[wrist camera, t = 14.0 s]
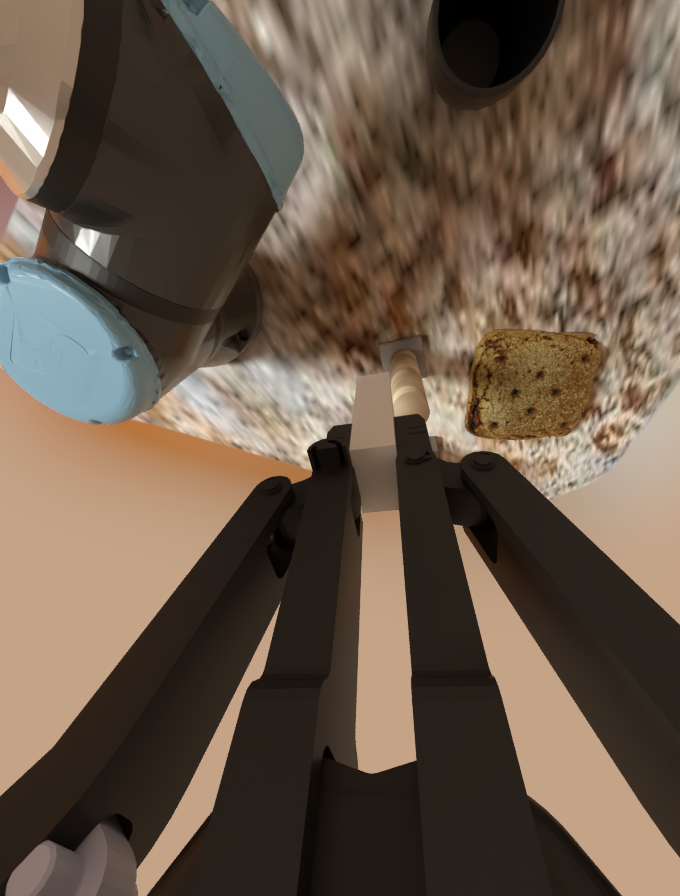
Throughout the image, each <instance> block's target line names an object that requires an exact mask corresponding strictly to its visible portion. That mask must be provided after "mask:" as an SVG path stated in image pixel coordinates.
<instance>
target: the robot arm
mask: <svg viewBox="0 0 680 896" xmlns="http://www.w3.org/2000/svg"><path fill="white" fill-rule="evenodd" d="M303 154H304V144H303V135H302V132H301V128H300V125H299V123H298V120H297V118H296V116H295V114H294V112H293V111H292V109H291V107H290V105H289V104H288V102H287V101H286V99H285V98H284V96H283V94H282V93H281V91H280V90H279V88H278V87H277V85H276V84H275V82H274V81H273V80H272V78H271V77H270V75H269V74H268V72H267V71H266V70H265V68H264V67H263V65H262V64H261V63H260V61H259V60H258V59H257V57H256V56H255V55H254V53H253V52H252V50H251V49H250V48H249V46H248V45H247V44H246V42H245V41H244V40H243V38H242V37H241V36H240V35H239V33H238V32H237V31H236V29H235V28H234V27H233V25H232V24H231V23H230V22H229V20H228V19H227V18H226V17H225V16H224V14H223V13H222V12H221V11H220V9H219V8H218V7H217V6H216V4H215V3H213V2H212V1H211V0H0V175H1V177H2V178H3V180H4V181H5V182H6V184H7V185H8V186H9V188H10V189H11V190H12V192H13V193H14V194H16V195H17V196H19V197H21V198H23V199H25V200H28V201H30V202H32V203H35V204H37V205H39V206H42V207H44V208H46V212H45V215H44V219H43V223H42V227H41V230H40V234H39V238H38V242H37V246H36V250H35V253H34V255H33V256H32V257H31V258H23V257H16V258H10V259H8V260H7V261H5V262H2V263H1V264H0V363H1V364H2V366H3V368H4V369H5V371H6V372H7V374H8V375H9V376H10V377H11V378H12V379H13V380H14V381H15V382H16V383H17V384H18V385H19V386H20V387H21V388H22V389H24V390H25V391H26V392H27V393H28V394H30V395H31V396H33V398H35V399H36V400H38V401H39V402H41V403H42V404H44V405H45V406H47V407H48V408H50V409H52V410H54V411H56V412H58V413H60V414H62V415H64V416H67V417H69V418H71V419H74V420H77V421H81V422H85V423H90V424H110V425H113V424H119V423H122V422H125V421H128V420H130V419H132V418H134V417H135V416H137V415H138V414H140V413H142V412H145V411H147V410H150V409H152V407H153V406H154V405H156V404H157V403H158V401H159V399H160V398H162V397H163V396H164V395H165V394H167V393H168V392H169V391H170V390H172V389H173V388H174V387H175V386H177V385H178V384H179V383H180V382H182V381H183V380H184V379H185V378H187V377H188V376H189V375H190V374H192V373H193V372H194V371H195V370H197V369H198V368H202V367H215V366H219V365H223V364H226V363H228V362H230V361H232V360H234V359H235V358H237V357H238V356H239V355H241V354H242V353H243V352H244V351H245V350H246V349H247V348H248V347H249V346H250V345H251V343H252V342H253V341H254V339H255V337H256V335H257V333H258V331H259V328H260V324H261V319H262V298H261V292H260V288H259V285H258V282H257V279H256V277H255V275H254V273H253V271H252V269H251V267H250V265H249V264H248V261H249V259H250V257H251V255H252V253H253V252H254V250H255V248H256V246H257V245H258V243H259V241H260V239H261V237H262V236H263V234H264V232H265V230H266V229H267V227H268V225H269V223H270V221H271V220H272V218H273V216H274V214H275V213H278V214H279V213H280V211H281V210H282V207H283V199H284V197H285V195H286V193H287V191H288V189H289V187H290V185H291V183H292V181H293V179H294V177H295V175H296V173H297V171H298V169H299V167H300V165H301V162H302V159H303ZM307 453H308V456H309V459H310V463H311V466H312V470H313V472H312V476H311V477H310V478H308V479H306V480H303V481H300V482H297V483H294V484H291V481H290V479H288V478H287V477H284V476H276V477H271V478H268V479H266V480H264V481H262V482H260V483H259V484H258V485H257V486H256V487H255V488H254V490H253V491H252V492H251V494H250V495H249V496H248V497H247V499H246V500H245V501H244V503H243V504H242V505H241V506H240V508H239V509H238V510H237V512H236V513H235V514H234V516H233V517H232V518H231V520H230V521H229V522H228V523H227V524H226V526H225V527H224V528H223V530H222V531H221V532H220V533H219V535H218V536H217V538H216V539H215V540H214V541H213V542H212V544H211V545H210V546H209V548H208V549H207V550H206V551H205V553H204V554H203V555H202V557H201V558H200V559H199V560H198V562H197V563H196V564H195V566H194V567H193V568H192V569H191V571H190V572H189V573H188V575H187V576H186V577H185V578H184V580H183V581H182V582H181V584H180V585H179V586H178V587H177V589H176V590H175V591H174V593H173V594H172V595H171V596H170V598H169V599H168V600H167V602H166V603H165V604H164V605H163V607H162V608H161V609H160V611H159V612H158V613H157V615H156V616H155V617H154V618H153V620H152V621H151V622H150V623H149V625H148V626H147V627H146V629H145V630H144V631H143V632H142V634H141V635H140V636H139V638H138V639H137V640H136V641H135V643H134V644H133V645H132V647H131V648H130V649H129V650H128V652H127V653H126V654H125V656H124V657H123V658H122V659H121V661H120V662H119V663H118V665H117V666H116V667H115V669H114V670H113V671H112V672H111V674H110V675H109V676H108V677H107V679H106V680H105V681H104V683H103V684H102V685H101V686H100V688H99V689H98V690H97V692H96V693H95V694H94V695H93V697H92V698H91V699H90V701H89V702H88V703H87V705H86V706H85V707H84V708H83V710H82V711H81V712H80V713H79V715H78V716H77V717H76V719H75V720H74V721H73V722H72V724H71V725H70V726H69V728H68V729H67V730H66V732H65V733H64V734H63V735H62V737H61V738H60V739H59V740H58V742H57V743H56V744H55V746H54V747H53V748H52V749H51V750H50V751H49V752H47V753H46V754H45V755H44V756H43V757H42V758H41V759H40V760H39V761H38V762H37V763H36V764H35V765H33V767H31V768H30V769H29V770H28V771H27V772H26V773H25V774H24V775H23V776H22V777H21V778H19V779H18V780H17V781H16V782H15V783H14V784H13V785H12V786H11V787H10V788H9V789H8V790H7V791H5V792H4V793H3V794H2V795H1V796H0V896H138V890H137V885H136V884H135V882H136V870H137V868H138V867H139V865H140V864H141V863H142V861H143V860H144V858H145V857H146V856H147V854H148V853H149V852H150V850H151V849H152V847H153V846H154V844H155V842H156V841H157V839H158V838H159V836H160V834H161V833H162V831H163V830H164V828H165V827H166V825H167V824H168V822H169V820H170V819H171V817H172V815H173V813H174V811H175V809H176V808H177V806H178V804H179V802H180V800H181V799H182V797H183V795H184V793H185V791H186V789H187V788H188V785H189V784H190V782H191V780H192V778H193V776H194V774H195V772H196V769H197V768H198V766H199V763H200V762H201V760H202V758H203V755H204V754H205V752H206V750H207V748H208V746H209V744H210V742H211V739H212V738H213V736H214V734H215V732H216V729H217V727H218V726H219V723H220V722H221V719H222V718H223V715H224V714H225V712H226V710H227V708H228V705H229V703H230V701H231V699H232V698H233V695H234V694H235V692H236V690H237V688H238V685H239V684H240V682H241V680H242V677H243V675H244V673H245V672H246V669H247V667H248V666H249V663H250V662H251V659H252V657H253V655H254V653H255V651H256V649H257V647H258V645H259V643H260V641H261V639H262V637H263V635H264V633H265V631H266V629H267V627H268V625H269V623H270V621H271V619H272V617H273V615H274V613H275V611H276V609H277V607H278V605H279V603H280V601H281V603H280V607H279V612H278V616H277V620H276V624H275V628H274V632H273V636H272V640H271V645H270V649H269V653H268V657H267V661H266V665H265V669H264V672H263V674H262V676H261V678H260V679H258V680H255V681H253V682H252V683H251V684H250V686H249V687H248V689H247V691H246V694H245V696H244V699H243V702H242V706H241V709H240V713H239V717H238V720H237V724H236V727H235V732H234V735H233V739H232V742H231V746H230V750H229V753H228V757H227V761H226V765H225V768H224V772H223V775H222V779H221V783H220V786H219V790H218V794H217V798H216V801H215V805H214V808H213V811H212V813H211V814H210V816H208V818H207V819H206V820H205V822H204V823H203V824H202V825H201V827H200V828H199V829H198V831H197V832H196V833H195V834H194V836H193V837H192V838H191V839H190V841H189V842H188V843H187V845H186V846H185V847H184V849H183V850H182V851H181V852H180V854H179V855H178V856H177V857H176V859H175V860H174V861H173V863H172V864H171V865H170V866H169V868H168V869H167V870H166V872H165V873H164V875H162V877H161V878H160V879H159V881H158V882H157V883H156V884H155V886H154V887H153V888H152V890H151V891H150V892H149V893H148V895H147V896H622V895H621V894H620V893H619V892H618V891H617V889H616V888H615V887H614V886H613V885H612V884H611V882H610V881H609V880H608V879H607V878H606V876H605V875H604V874H603V873H602V872H601V870H600V869H599V868H598V867H597V866H596V865H595V863H594V862H593V861H592V860H591V859H590V857H589V856H588V855H587V854H586V853H585V852H584V850H583V849H582V848H581V847H580V846H579V844H578V843H577V842H576V841H575V840H574V838H573V837H572V836H571V835H570V834H569V833H568V832H567V830H566V829H565V828H564V827H563V826H562V825H561V824H560V823H559V822H558V821H557V820H556V819H555V818H554V817H553V816H552V815H551V814H550V813H549V812H548V811H547V810H546V809H544V808H543V807H542V806H541V805H540V804H538V803H537V802H536V801H535V800H533V799H532V798H531V797H530V796H528V795H527V793H526V789H525V785H524V781H523V777H522V774H521V770H520V766H519V762H518V758H517V755H516V751H515V747H514V743H513V740H512V735H511V731H510V728H509V724H508V720H507V716H506V712H505V708H504V705H503V701H502V697H501V694H500V690H499V687H498V685H497V682H496V679H495V678H494V676H492V674H491V672H490V669H489V666H488V662H487V658H486V654H485V650H484V647H483V643H482V639H481V634H480V630H479V626H478V622H477V618H476V614H475V610H474V606H473V602H472V598H471V594H470V590H469V586H468V582H467V578H466V574H465V570H464V566H463V562H462V558H461V554H460V550H459V546H458V542H457V538H456V534H455V530H454V526H453V524H455V525H462V526H463V529H464V532H465V533H466V535H467V536H468V538H469V539H470V541H471V542H472V544H473V545H474V547H475V548H476V550H477V552H478V553H479V555H480V556H481V558H482V559H483V561H484V562H485V564H486V565H487V567H488V568H489V570H490V572H491V573H492V575H493V576H494V578H495V579H496V581H497V582H498V584H499V586H500V587H501V589H502V590H503V592H504V593H505V595H506V596H507V598H508V599H509V601H510V602H511V604H512V605H513V607H514V609H515V610H516V612H517V613H518V615H519V616H520V618H521V619H522V621H523V622H524V624H525V625H526V627H527V629H528V630H529V632H530V633H531V635H532V636H533V638H534V639H535V641H536V642H537V644H538V646H539V647H540V649H541V650H542V652H543V653H544V655H545V656H546V658H547V660H548V661H549V663H550V664H551V666H552V667H553V669H554V670H555V672H556V673H557V675H558V676H559V678H560V680H561V681H562V682H563V684H564V686H565V687H566V689H567V690H568V692H569V693H570V695H571V696H572V698H573V700H574V701H575V703H576V704H577V706H578V707H579V709H580V710H581V712H582V713H583V715H584V716H585V718H586V720H587V721H588V723H589V724H590V726H591V727H592V729H593V730H594V732H595V733H596V735H597V737H598V738H599V739H600V741H601V743H602V744H603V746H604V747H605V749H606V750H607V752H608V754H609V755H610V757H611V758H612V760H613V761H614V763H615V764H616V766H617V767H618V769H619V770H620V772H621V774H622V775H623V776H624V778H625V780H626V781H627V783H628V784H629V786H630V787H631V789H632V791H633V792H634V794H635V795H636V797H637V798H638V800H639V801H640V803H641V804H642V806H643V807H644V809H645V810H646V812H647V813H648V814H649V816H650V817H651V819H652V820H653V821H654V823H655V824H656V826H657V827H658V829H659V830H660V831H661V833H662V834H663V836H664V837H665V839H666V840H667V842H668V843H669V844H670V845H671V847H672V848H673V850H674V851H675V852H676V853H677V855H678V856H679V857H680V625H679V624H678V623H677V622H676V621H675V620H674V619H673V618H672V617H671V616H670V615H669V614H668V613H667V612H666V611H665V610H664V609H663V608H661V607H660V606H659V605H658V604H657V603H656V602H655V601H654V600H653V599H652V598H651V597H650V596H649V595H648V594H647V593H646V592H645V591H644V590H642V589H641V588H640V587H639V586H638V585H637V584H636V583H635V582H634V581H633V580H632V579H631V578H630V577H629V576H628V575H627V574H626V573H625V572H624V571H623V570H621V569H620V568H619V567H618V566H617V565H616V564H615V563H614V562H613V561H612V560H611V559H610V558H609V557H608V556H607V555H606V554H605V553H604V552H603V551H601V550H600V549H599V548H598V547H597V546H596V545H595V544H594V543H593V542H592V541H591V540H590V539H589V538H588V537H587V536H586V535H585V534H583V532H581V531H580V530H579V529H578V528H577V527H576V526H575V525H574V524H573V523H572V522H571V521H570V520H569V519H568V518H567V517H566V516H565V515H564V514H563V513H561V512H560V511H559V510H558V509H557V508H556V507H555V506H554V505H553V504H552V503H551V502H550V501H549V500H548V499H547V498H546V497H545V496H544V495H543V494H542V493H540V492H539V491H538V490H537V489H536V488H535V487H534V486H533V485H532V484H531V483H530V482H529V481H528V480H527V479H526V478H525V477H524V476H523V475H522V474H520V473H519V472H518V471H517V470H516V469H515V468H514V467H513V466H512V465H511V464H510V463H509V462H508V461H507V460H506V459H505V458H503V457H502V456H500V455H499V454H496V453H493V452H487V451H479V452H473V453H470V454H468V455H466V456H465V457H464V458H462V460H461V463H452V462H446V461H443V460H441V459H439V458H437V457H436V455H435V454H434V452H433V451H432V447H431V443H430V439H429V435H428V431H427V427H426V423H425V419H424V418H423V417H422V416H420V415H419V414H411V415H404V416H396V417H395V414H394V407H393V399H392V392H391V384H390V377H389V372H384V373H378V374H371V375H365V376H359V377H357V385H356V394H355V403H354V412H353V421H352V424H345V425H337V426H333V427H332V429H331V430H330V431H329V432H328V434H327V438H326V439H322V440H320V441H317V442H315V443H314V444H312V445H311V446H310V447H309V448H308V450H307ZM361 507H362V511H363V513H368V512H378V511H389V510H399V512H400V526H401V539H402V551H403V565H404V577H405V590H406V602H407V616H408V629H409V641H410V654H411V668H412V677H411V689H412V705H413V718H414V732H415V745H416V758H417V760H416V761H413V762H410V763H407V764H404V765H401V766H398V767H394V768H391V769H388V770H385V771H382V772H379V773H375V774H369V773H365V772H363V771H360V770H358V760H357V752H356V741H355V722H356V696H357V668H358V641H359V614H360V587H361V560H362V531H363V521H362V517H361Z"/></svg>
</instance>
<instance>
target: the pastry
mask: <svg viewBox="0 0 680 896" xmlns="http://www.w3.org/2000/svg"><path fill="white" fill-rule="evenodd" d="M593 337H594V335H593V334H591V333H577V332H567V333H563V332H561V333H552V332H545V331H535V330H520V329H502V330H494V331H491V332H489V333H487V334H486V335H485V336H484V337H483V338H482V339H481V341H480V342H479V345H478V347H477V350H476V352H475V358H474V361H473V363H472V366H471V373H470V378H469V397H468V406H467V412H466V416H465V428H466V429H467V431H468V432H470V433H471V434H473V435H475V436H478V437H482V438H488V439H507V440H517V439H520V440H527V439H535V438H542V437H545V436H548V437H549V438H550V437H551V436H555V437H559V436H565V435H568V434H569V433H570V430H571V429H573V428H574V427H576V425H577V424H578V422H579V421H580V418H581V415H582V413H583V412H584V411H585V409H586V408H587V406H588V404H589V400H590V397H591V392H592V388H593V382H594V378H595V373H596V371H597V368H598V366H599V364H600V361H601V359H602V357H601V349H598V347H597V344H598V342H597V341H596V339H595V338H594V339H593V340H591V338H593Z"/></svg>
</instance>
